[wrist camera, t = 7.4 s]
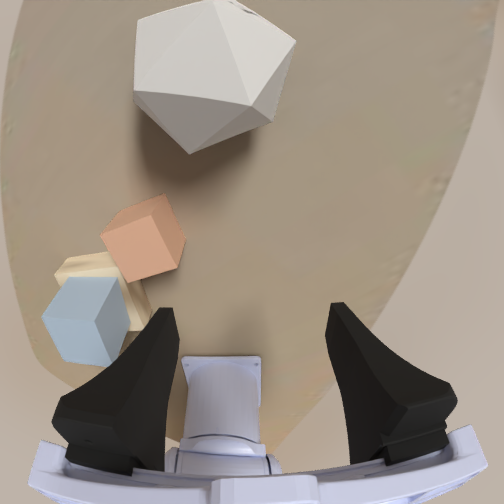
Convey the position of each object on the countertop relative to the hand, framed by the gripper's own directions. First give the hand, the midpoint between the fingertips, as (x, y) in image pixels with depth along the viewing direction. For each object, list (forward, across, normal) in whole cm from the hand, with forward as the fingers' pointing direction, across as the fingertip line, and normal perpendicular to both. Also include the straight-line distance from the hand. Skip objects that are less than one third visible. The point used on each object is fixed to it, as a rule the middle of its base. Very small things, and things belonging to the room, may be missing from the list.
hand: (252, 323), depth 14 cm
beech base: (+11, +12, +5) cm, 17 cm away
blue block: (+8, +12, +5) cm, 15 cm away
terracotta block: (+10, +7, 0) cm, 13 cm away
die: (+11, +2, -11) cm, 15 cm away
